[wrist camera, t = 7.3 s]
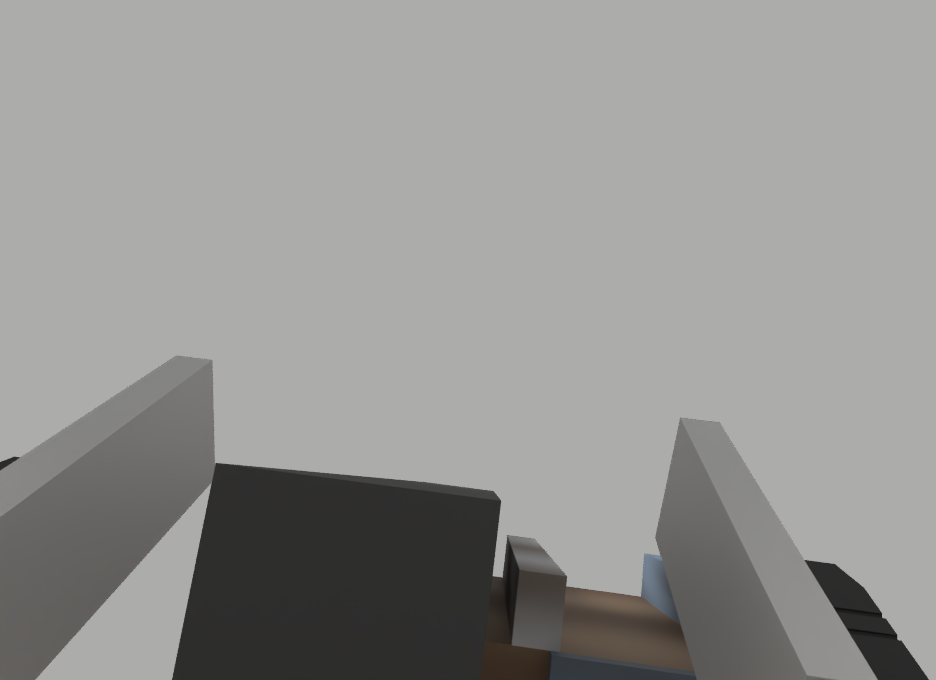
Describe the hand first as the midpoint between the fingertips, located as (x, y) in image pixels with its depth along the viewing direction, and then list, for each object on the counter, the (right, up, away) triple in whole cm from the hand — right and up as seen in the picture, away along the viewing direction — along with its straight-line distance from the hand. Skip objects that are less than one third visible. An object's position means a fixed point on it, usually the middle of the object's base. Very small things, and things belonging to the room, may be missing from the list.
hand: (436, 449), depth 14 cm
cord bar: (0, -4, +2) cm, 5 cm away
